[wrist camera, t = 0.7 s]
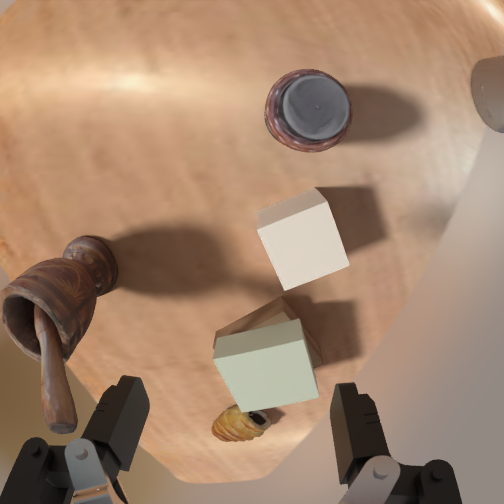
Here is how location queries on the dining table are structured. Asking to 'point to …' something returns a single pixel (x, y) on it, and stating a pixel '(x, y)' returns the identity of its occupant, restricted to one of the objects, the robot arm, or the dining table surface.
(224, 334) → the lower block
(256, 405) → the upper block
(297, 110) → the supplement bottle
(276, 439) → the dining table surface
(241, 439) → the pastry
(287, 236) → the cream block
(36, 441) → the robot arm
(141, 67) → the dining table surface
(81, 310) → the mortar and pestle
